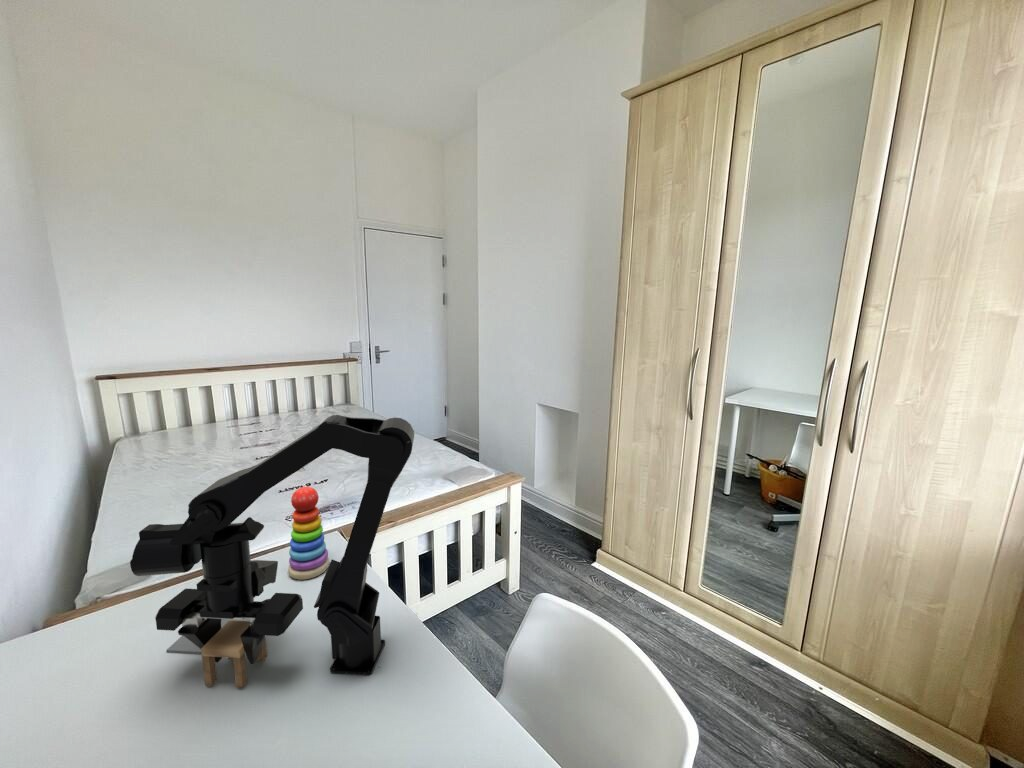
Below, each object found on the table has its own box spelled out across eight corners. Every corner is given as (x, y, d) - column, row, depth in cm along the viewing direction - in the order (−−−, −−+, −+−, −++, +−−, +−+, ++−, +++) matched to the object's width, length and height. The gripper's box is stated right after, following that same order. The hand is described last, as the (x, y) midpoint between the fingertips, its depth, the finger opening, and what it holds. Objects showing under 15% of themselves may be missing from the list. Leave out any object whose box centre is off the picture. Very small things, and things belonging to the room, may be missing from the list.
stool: (267, 656, 65) (264, 622, 64) (242, 687, 60) (239, 650, 59) (232, 654, 66) (229, 620, 65) (205, 685, 60) (201, 648, 59)
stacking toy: (280, 574, 87) (273, 489, 84) (313, 555, 94) (308, 476, 91) (304, 586, 83) (298, 498, 80) (337, 565, 90) (333, 484, 87)
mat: (266, 611, 76) (266, 609, 76) (226, 655, 66) (226, 653, 66) (213, 609, 76) (213, 607, 76) (166, 652, 66) (166, 650, 66)
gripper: (318, 539, 68) (323, 625, 70) (208, 535, 68) (216, 619, 71) (277, 582, 57) (284, 682, 59) (146, 576, 57) (159, 675, 60)
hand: (236, 661), depth 63 cm, fingers closed on stool, 5 cm apart
